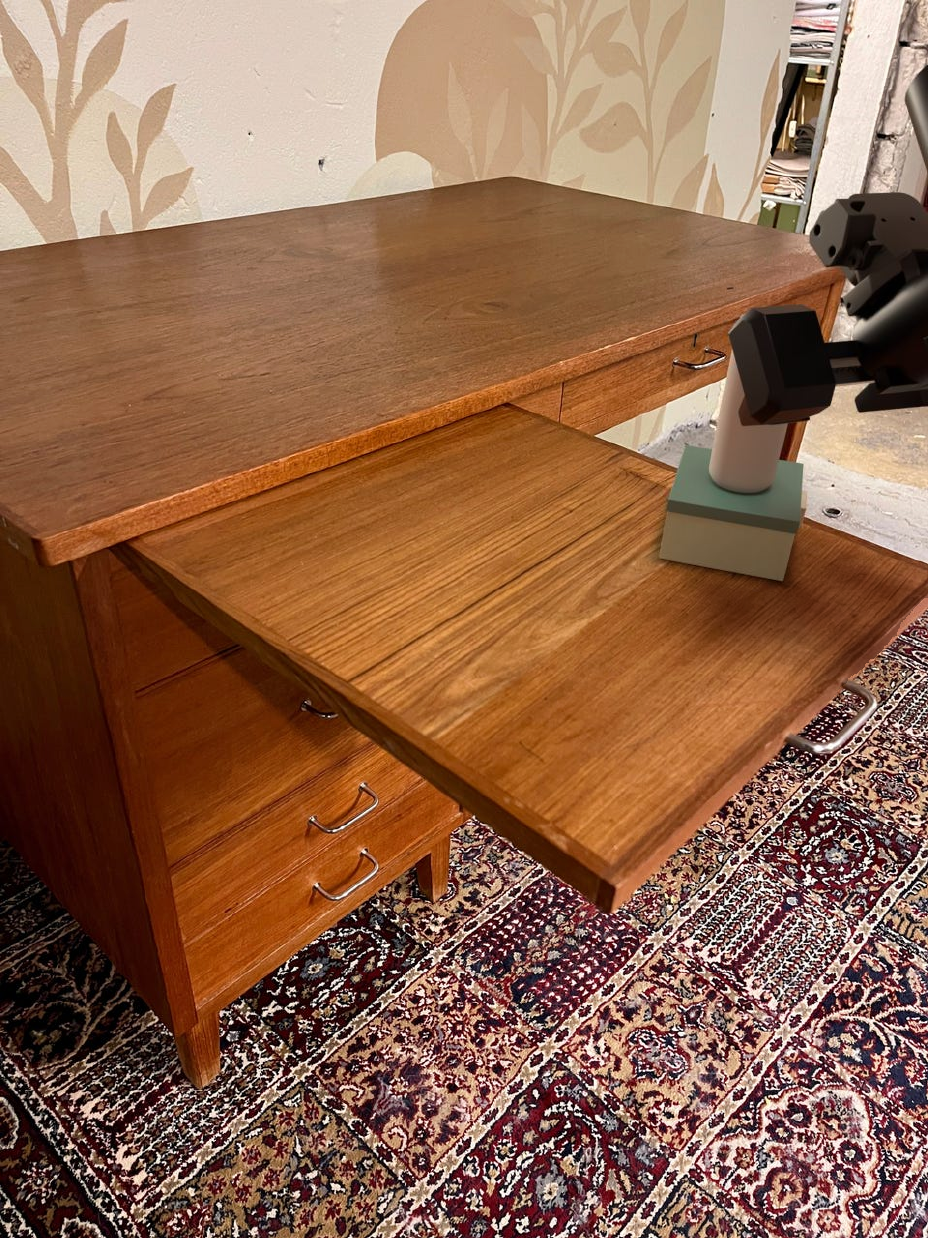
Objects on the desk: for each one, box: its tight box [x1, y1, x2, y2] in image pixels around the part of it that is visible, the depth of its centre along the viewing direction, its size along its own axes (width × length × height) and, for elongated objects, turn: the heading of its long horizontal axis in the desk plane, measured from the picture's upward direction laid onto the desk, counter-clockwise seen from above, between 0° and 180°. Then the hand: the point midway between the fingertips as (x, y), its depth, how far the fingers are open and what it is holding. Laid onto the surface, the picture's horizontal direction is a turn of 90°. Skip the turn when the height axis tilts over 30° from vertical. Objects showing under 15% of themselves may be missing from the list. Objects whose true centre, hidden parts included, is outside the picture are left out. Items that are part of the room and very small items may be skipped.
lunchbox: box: [658, 444, 808, 582], centre depth 74 cm, size 10×10×5 cm
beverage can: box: [709, 313, 789, 493], centre depth 69 cm, size 5×5×12 cm
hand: (801, 411), depth 64 cm, fingers open, 9 cm apart
